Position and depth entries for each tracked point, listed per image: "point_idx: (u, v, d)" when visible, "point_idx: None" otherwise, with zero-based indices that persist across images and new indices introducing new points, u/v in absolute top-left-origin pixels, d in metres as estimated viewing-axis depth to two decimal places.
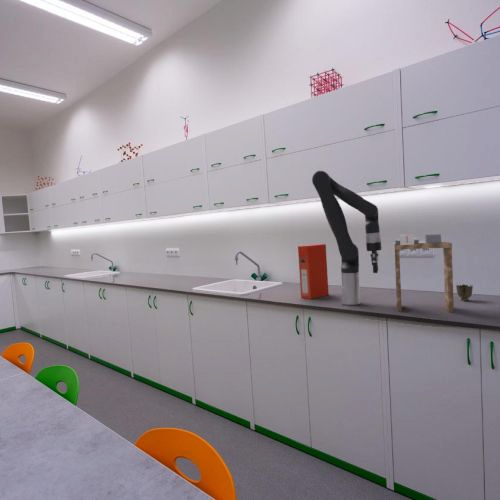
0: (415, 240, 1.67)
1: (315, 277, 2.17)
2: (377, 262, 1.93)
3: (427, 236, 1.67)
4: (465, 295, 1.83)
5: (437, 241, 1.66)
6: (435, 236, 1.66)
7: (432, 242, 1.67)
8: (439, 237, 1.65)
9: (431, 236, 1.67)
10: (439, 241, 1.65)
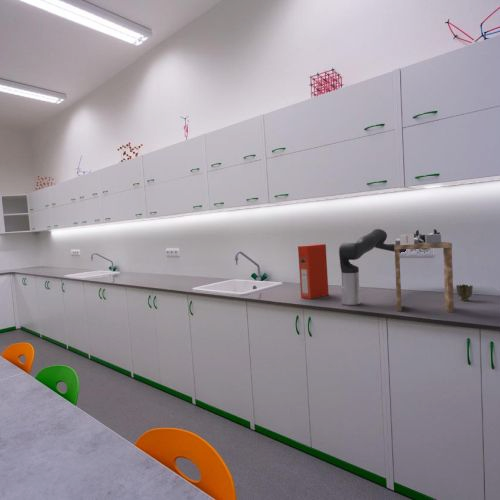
0: (415, 240, 1.67)
1: (315, 277, 2.17)
2: (418, 236, 2.05)
3: (427, 236, 1.67)
4: (465, 295, 1.83)
5: (437, 241, 1.66)
6: (435, 236, 1.66)
7: (432, 242, 1.67)
8: (439, 237, 1.65)
9: (431, 236, 1.67)
10: (439, 241, 1.65)
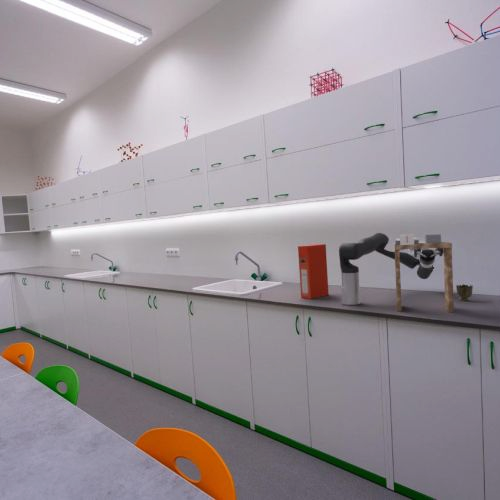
0: (415, 240, 1.67)
1: (315, 277, 2.17)
2: (420, 252, 1.93)
3: (427, 236, 1.67)
4: (465, 295, 1.83)
5: (437, 241, 1.66)
6: (435, 236, 1.66)
7: (432, 242, 1.67)
8: (439, 237, 1.65)
9: (431, 236, 1.67)
10: (439, 241, 1.65)
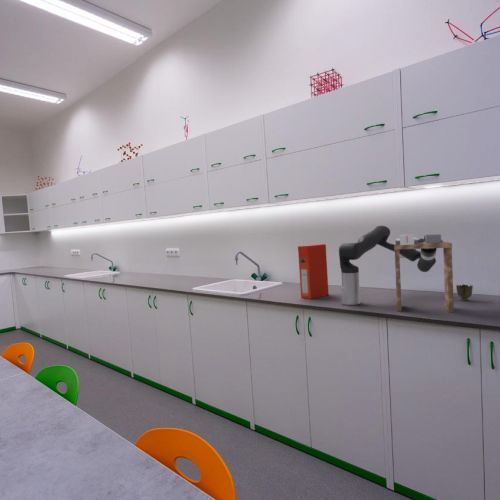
0: (415, 240, 1.67)
1: (315, 277, 2.17)
2: None
3: (427, 236, 1.67)
4: (465, 295, 1.83)
5: (437, 241, 1.66)
6: (435, 236, 1.66)
7: (432, 242, 1.67)
8: (439, 237, 1.65)
9: (431, 236, 1.67)
10: (439, 241, 1.65)
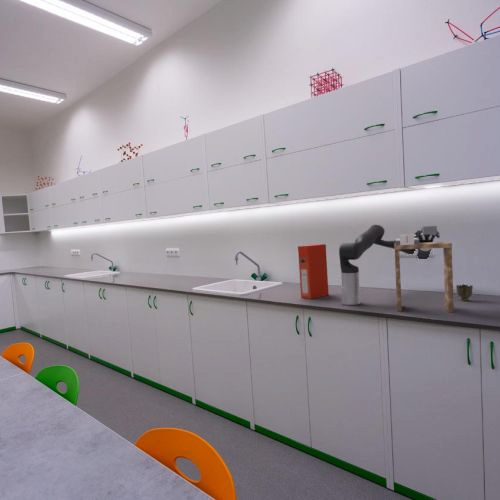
0: (415, 240, 1.67)
1: (315, 277, 2.17)
2: None
3: (424, 227, 1.81)
4: (465, 295, 1.83)
5: (433, 232, 1.79)
6: (431, 227, 1.80)
7: (429, 233, 1.80)
8: (435, 228, 1.79)
9: (428, 227, 1.80)
10: (435, 232, 1.79)
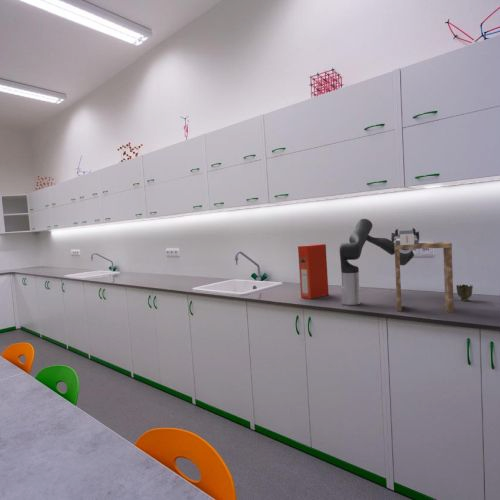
0: (415, 240, 1.67)
1: (315, 277, 2.17)
2: (398, 236, 1.89)
3: (400, 232, 1.72)
4: (465, 295, 1.83)
5: None
6: (408, 232, 1.71)
7: None
8: (411, 233, 1.70)
9: (404, 232, 1.71)
10: None
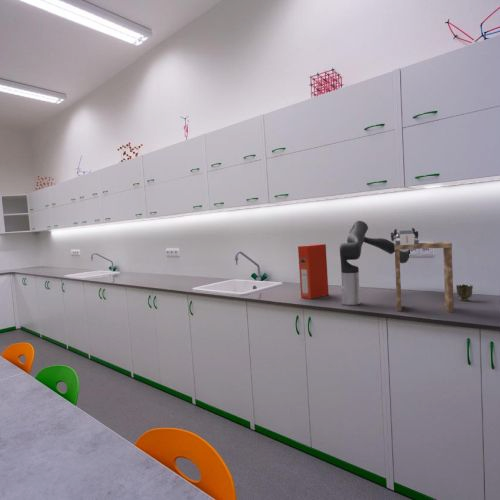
0: (415, 240, 1.67)
1: (315, 277, 2.17)
2: (397, 235, 2.02)
3: (400, 232, 1.72)
4: (465, 295, 1.83)
5: None
6: (408, 232, 1.71)
7: None
8: (411, 233, 1.70)
9: (404, 232, 1.71)
10: None
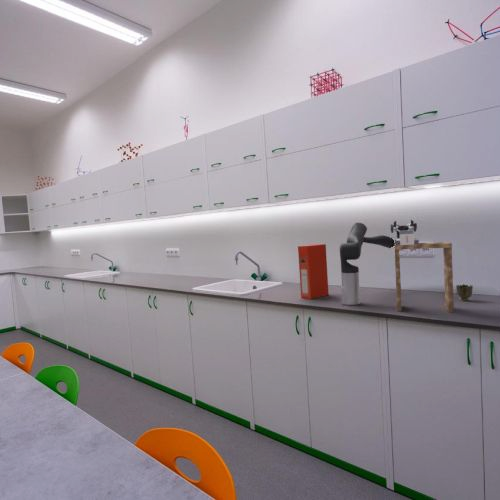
0: (415, 240, 1.67)
1: (315, 277, 2.17)
2: (396, 227, 2.10)
3: (400, 232, 1.72)
4: (465, 295, 1.83)
5: None
6: (408, 232, 1.71)
7: None
8: (411, 233, 1.70)
9: (404, 232, 1.71)
10: None
